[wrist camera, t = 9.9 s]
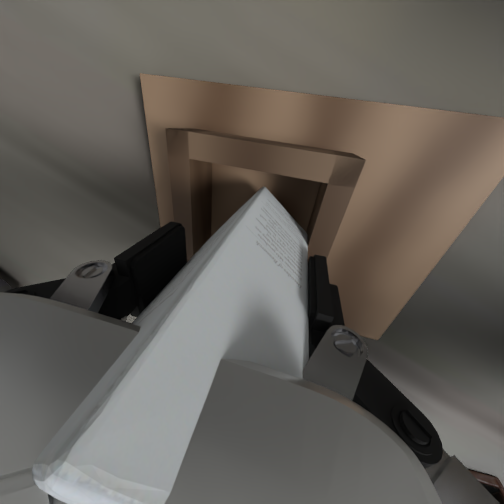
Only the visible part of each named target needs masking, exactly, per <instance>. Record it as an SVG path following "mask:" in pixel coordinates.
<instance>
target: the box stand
mask: <svg viewBox="0 0 504 504" xmlns="http://www.w3.org/2000/svg"><path fill="white" fill-rule="evenodd" d="M140 80H141V87H142V94H143V102H144V109H145V116H146V124H147V131H148V139H149V146H150V153H151V161H152V168H153V175H154V183H155V190H156V197H157V205H158V212H159V219H160V227H162V226H164V225H166V224H167V223H169V222H171V221H172V222H176V223H181V224H182V226H183V227H184V228H185V237H186V252H187V262H188V261H189V260H190V259H191V258H192V257H193V256H194V254H195V253H196V252H197V251H198V250H199V249H200V248H201V247H202V246H203V245H204V244H205V242H206V241H207V240H208V239H209V238H210V237H211V236H212V235H213V234H214V233H215V232H216V231H217V230H218V229H219V228H220V227H221V226H222V225H223V224H224V223H225V222H226V221H227V220H228V219H229V218H230V217H231V216H232V215H234V214H235V213H236V212H237V211H238V210H239V209H240V208H241V207H242V206H243V205H244V204H245V203H246V202H247V201H248V200H249V199H250V198H251V197H252V196H253V195H254V194H255V193H256V192H257V191H259V190H260V189H261V188H262V187H266V188H267V189H268V190H269V191H270V192H271V194H272V195H273V196H274V197H275V198H276V199H277V200H278V202H279V203H280V204H281V205H282V206H283V207H284V208H285V210H286V211H287V212H288V213H289V214H290V215H291V216H292V218H293V219H294V220H295V221H296V222H297V223H298V224H299V225H300V226H301V227H302V228H303V229H304V230H305V232H306V233H307V236H308V260H309V257H310V256H312V257H314V255H315V254H316V255H320V256H325V257H326V260H327V267H328V275H329V283H330V284H334V285H337V287H338V291H339V296H340V302H341V307H342V313H343V318H344V324H345V326H346V327H348V328H350V329H352V330H354V331H355V332H357V333H358V334H359V335H360V336H363V337H367V338H371V339H374V340H379V338H380V337H381V336H382V334H383V333H384V332H385V330H386V329H387V328H388V327H389V325H390V324H391V323H392V321H393V320H394V319H395V317H396V316H397V315H398V314H399V312H400V311H401V310H402V308H403V307H404V306H405V304H406V303H407V302H408V300H409V299H410V298H411V297H412V295H413V294H414V293H415V291H416V290H417V289H418V287H419V286H420V285H421V284H422V282H423V281H424V280H425V278H426V277H427V276H428V274H429V273H430V272H431V270H432V269H433V268H434V267H435V265H436V264H437V263H438V261H439V260H440V259H441V257H442V256H443V255H444V254H445V252H446V251H447V250H448V248H449V247H450V246H451V244H452V243H453V242H454V240H455V239H456V238H457V237H458V235H459V234H460V233H461V231H462V230H463V229H464V227H465V226H466V225H467V224H468V222H469V221H470V220H471V218H472V217H473V216H474V214H475V213H476V212H477V210H478V209H479V208H480V207H481V205H482V204H483V203H484V201H485V200H486V199H487V197H488V196H489V195H490V194H491V192H492V191H493V190H494V188H495V187H496V186H497V184H498V183H499V182H500V180H501V179H502V178H503V177H504V118H502V117H494V116H486V115H478V114H469V113H461V112H453V111H445V110H436V109H428V108H420V107H412V106H404V105H395V104H387V103H379V102H371V101H363V100H354V99H346V98H338V97H330V96H322V95H313V94H305V93H297V92H289V91H281V90H272V89H264V88H256V87H248V86H240V85H231V84H223V83H215V82H207V81H198V80H190V79H182V78H174V77H166V76H157V75H149V74H141V73H140Z"/></svg>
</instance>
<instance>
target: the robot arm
mask: <svg viewBox="0 0 504 504" xmlns="http://www.w3.org/2000/svg"><path fill="white" fill-rule="evenodd" d="M114 260H115V263H114V264H112V265H111V263H109V262H107V261H102V260H97V261H90V262H86V263H84V264H81V265H79V266H78V267H76V268H75V269H74V270H73V271H72V272H71V273H70V274H69V275H68V277H67V278H65V279H60V280H55V281H50V282H45V283H40V284H35V285H30V286H25V287H20V288H14V289H11V290H8V291H6V292H4V293H2V292H0V504H67V503H64V502H62V501H60V500H58V499H56V498H54V497H52V496H51V495H49V494H48V493H46V492H44V491H43V490H41V489H39V488H38V486H37V485H35V483H34V481H33V479H32V468H33V464H34V462H35V461H36V459H37V458H38V456H39V455H40V453H41V452H42V450H43V449H44V448H45V447H46V446H47V444H48V443H49V442H50V441H51V440H52V438H53V437H54V436H55V435H56V433H57V432H58V431H59V430H60V429H61V427H62V426H63V425H64V424H65V422H66V421H67V420H68V419H69V418H70V416H71V415H72V414H73V413H74V412H75V410H76V409H77V408H78V407H79V405H80V404H81V403H82V402H83V401H84V399H85V398H86V397H87V396H88V395H89V393H90V392H91V391H92V390H93V388H94V387H95V386H96V385H97V384H98V382H99V381H100V380H101V379H102V377H103V376H104V375H105V374H106V372H107V371H108V370H109V369H110V367H111V366H112V365H113V364H114V363H115V361H116V360H117V359H118V358H119V356H120V355H121V354H122V353H123V351H124V350H125V349H126V348H127V347H128V345H129V344H130V343H131V342H132V340H133V339H134V338H135V337H136V335H137V334H138V333H139V331H140V327H141V326H138V325H134V324H131V323H128V322H126V320H127V316H128V315H129V314H130V313H131V315H132V316H135V317H138V316H139V315H140V314H141V313H142V312H143V311H144V309H145V308H146V307H147V306H148V305H149V304H150V303H151V302H152V301H153V300H154V299H155V297H156V296H157V295H158V294H159V293H160V292H161V291H162V290H163V289H164V288H165V286H166V285H167V284H168V283H169V282H170V281H171V280H172V279H173V278H174V277H175V275H176V274H177V273H178V272H179V271H180V270H181V269H182V268H183V267H184V266H185V264H186V263H187V252H186V237H185V228H184V227H183V226H182V224H181V223H176V222H172V221H171V222H169V223H167V224H166V225H164V226H162V227H161V228H159V229H158V230H156V231H155V232H153V233H152V234H150V235H149V236H147V237H146V238H144V239H142V240H141V241H139V242H138V243H136V244H135V245H133V246H132V247H130V248H129V249H127V250H126V251H124V252H122V253H121V254H119V255H118V256H116V257H115V258H114ZM308 324H309V361H308V362H307V364H306V365H305V367H304V369H303V379H301V378H298V377H295V376H293V375H290V374H287V373H284V372H281V371H278V370H275V369H272V368H269V367H266V366H263V365H260V364H257V363H254V362H251V361H243V360H235V359H221V360H220V363H219V365H218V368H217V371H216V373H215V376H214V379H213V382H212V384H211V387H210V390H209V392H208V395H207V398H206V400H205V403H204V405H203V408H202V411H201V413H200V416H199V418H198V421H197V424H196V426H195V429H194V432H193V434H192V437H191V439H190V442H189V444H188V447H187V450H186V453H185V455H184V458H183V461H182V463H181V466H180V469H179V471H178V474H177V477H176V479H175V482H174V485H173V488H172V490H171V493H170V495H169V496H168V498H167V500H166V502H165V503H164V504H500V503H499V502H498V501H497V500H496V499H495V498H494V497H493V496H492V495H491V494H490V493H489V492H488V490H487V489H486V488H485V487H484V486H483V485H482V484H481V483H480V482H479V481H478V480H477V479H476V478H475V477H474V476H473V475H472V473H471V472H470V471H469V470H468V469H467V468H466V467H465V466H464V465H463V464H462V463H461V462H460V461H459V460H458V459H457V458H456V456H455V455H454V456H451V457H450V456H449V455H448V454H447V453H446V452H445V451H444V450H443V448H442V442H441V440H440V438H439V435H438V433H437V431H436V430H435V428H434V427H433V425H432V424H431V422H430V421H429V420H428V419H427V418H426V417H425V415H424V414H423V413H422V412H421V411H420V410H419V409H418V408H417V407H416V406H415V405H413V404H412V403H411V402H410V401H409V400H408V399H407V398H406V397H405V396H404V395H403V394H402V393H401V392H400V391H399V390H398V389H397V388H396V387H395V386H394V385H393V384H392V383H391V382H390V381H389V380H388V379H387V378H386V377H385V376H384V375H383V374H382V373H381V372H380V371H379V370H378V369H377V368H376V367H374V366H373V365H372V364H371V363H370V362H369V361H368V360H367V357H368V348H367V345H366V343H365V341H364V340H363V338H362V337H361V336H360V335H359V334H358V333H357V332H355V331H354V330H352V329H350V328H348V327H346V326H345V324H344V318H343V313H342V307H341V302H340V296H339V291H338V287H337V285H334V284H330V283H329V275H328V267H327V260H326V257H325V256H320V255H316V254H315V255H314V257H312V256H310V257H309V260H308Z"/></svg>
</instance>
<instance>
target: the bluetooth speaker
mask: <svg viewBox="0 0 504 504" xmlns="http://www.w3.org/2000/svg"><path fill="white" fill-rule="evenodd" d="M11 289H13V288H12V287H11V286H10V285H9V284H7V283H6V282H5V281H4V280H3V279H1V278H0V292H2V293H4V292H6V291H8V290H11Z"/></svg>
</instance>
